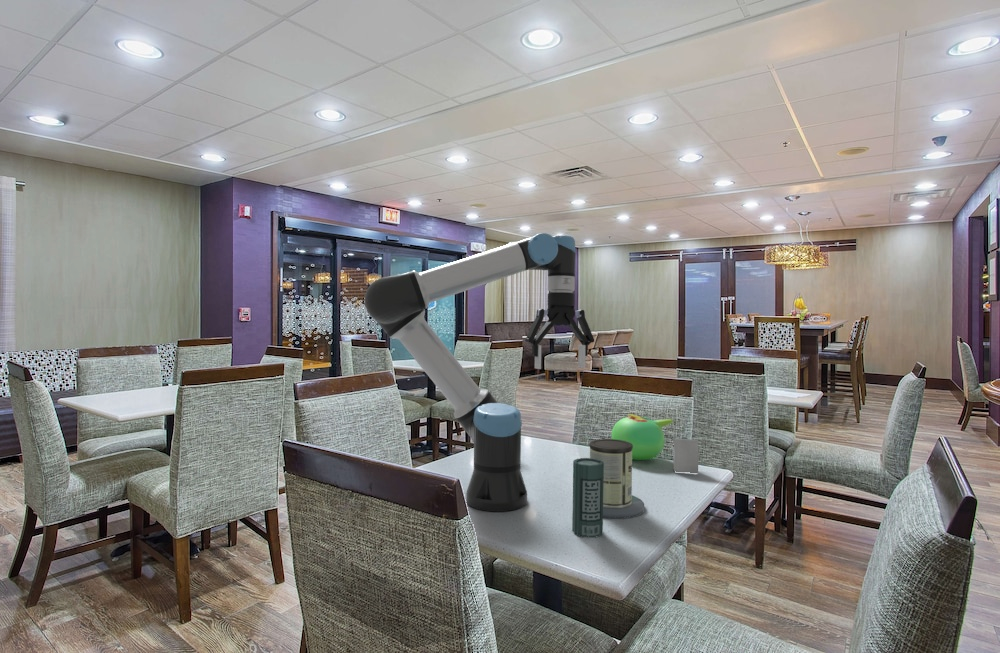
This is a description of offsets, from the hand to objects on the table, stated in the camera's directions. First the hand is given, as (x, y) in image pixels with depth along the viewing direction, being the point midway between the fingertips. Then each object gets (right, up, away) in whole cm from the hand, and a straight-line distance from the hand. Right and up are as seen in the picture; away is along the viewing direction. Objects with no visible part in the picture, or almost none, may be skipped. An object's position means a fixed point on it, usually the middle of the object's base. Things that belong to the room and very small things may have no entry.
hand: (560, 368), depth 149 cm
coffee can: (+10, -31, -19) cm, 38 cm away
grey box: (+39, -32, +10) cm, 51 cm away
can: (+2, -32, -35) cm, 48 cm away
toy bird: (+29, -32, +26) cm, 50 cm away
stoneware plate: (+10, -32, -19) cm, 39 cm away
